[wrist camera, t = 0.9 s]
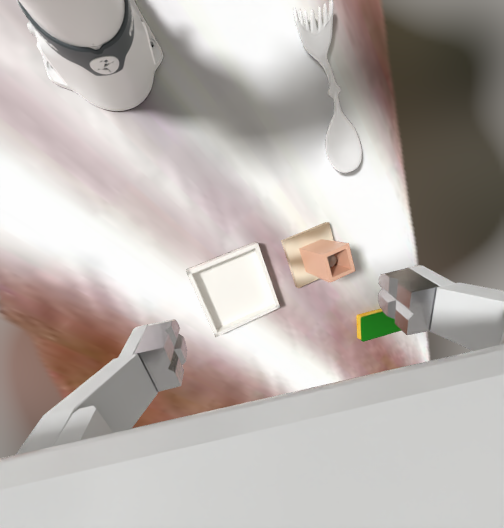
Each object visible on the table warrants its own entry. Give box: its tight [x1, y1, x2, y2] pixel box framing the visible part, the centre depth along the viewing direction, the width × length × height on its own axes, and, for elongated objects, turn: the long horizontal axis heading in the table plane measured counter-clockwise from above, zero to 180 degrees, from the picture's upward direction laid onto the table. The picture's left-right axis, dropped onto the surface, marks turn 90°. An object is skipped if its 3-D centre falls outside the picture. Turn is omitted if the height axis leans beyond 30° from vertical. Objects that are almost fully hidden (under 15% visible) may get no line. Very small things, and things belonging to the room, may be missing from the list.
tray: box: [186, 242, 280, 337], centre depth 53 cm, size 16×16×2 cm
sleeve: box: [299, 239, 355, 283], centre depth 52 cm, size 6×6×10 cm
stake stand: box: [281, 222, 337, 288], centre depth 54 cm, size 12×12×8 cm
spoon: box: [293, 0, 362, 173], centre depth 51 cm, size 9×32×4 cm, turn 22°
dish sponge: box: [357, 309, 401, 342], centre depth 67 cm, size 7×14×2 cm, turn 98°
